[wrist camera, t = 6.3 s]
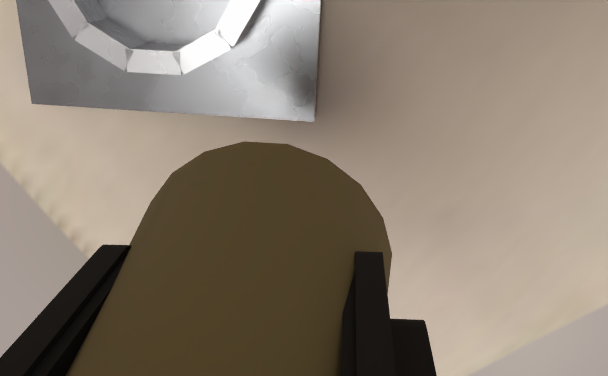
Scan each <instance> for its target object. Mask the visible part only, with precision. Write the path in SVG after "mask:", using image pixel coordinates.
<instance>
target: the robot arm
mask: <svg viewBox="0 0 608 376" xmlns="http://www.w3.org/2000/svg"><path fill="white" fill-rule="evenodd" d="M130 248H131V245H102V246H101V247H100V248H99V249H98V250H97V251H96V252H95V253H94V254H93V256H92V257H91V258H90V259H89V260H88V261H87V262H86V263H85V265H84V266H83V267H82V268H81V269H80V270H79V271H78V272H77V273H76V274H75V276H74V277H73V278H72V279H71V280H70V281H69V282H68V283H67V284H66V285H65V287H64V288H63V289H62V290H61V291H60V292H59V293H58V294H57V296H56V297H55V298H54V299H53V300H52V301H51V302H50V303H49V304H48V305H47V307H46V308H45V309H44V310H43V311H42V312H41V313H40V314H39V315H38V317H37V318H36V319H35V320H34V321H33V322H32V323H31V324H30V326H28V328H27V329H26V330H25V331H24V332H23V333H22V334H21V336H20V337H19V338H18V339H17V340H16V341H15V342H14V343H13V344H12V345H11V346H10V348H9V349H8V350H7V351H6V352H5V353H4V354H3V356H2V357H1V358H0V376H66V374H67V372H68V370H69V368H70V366H71V364H72V362H73V361H74V359H75V357H76V355H77V353H78V351H79V349H80V347H81V345H82V344H83V342H84V340H85V338H86V336H87V334H88V332H89V330H90V328H91V326H92V325H93V323H94V321H95V319H96V317H97V315H98V313H99V311H100V309H101V308H102V306H103V304H104V302H105V300H106V298H107V296H108V294H109V292H110V291H111V289H112V287H113V285H114V282H115V280H116V278H117V276H118V274H119V272H120V269H121V267H122V265H123V263H124V261H125V259H126V256H127V254H128V251H129V250H130ZM341 376H437V375H436V371H435V366H434V361H433V356H432V351H431V347H430V342H429V337H428V332H427V328H426V324H425V321H424V320H408V319H390V314H389V305H388V296H387V287H386V278H385V269H384V260H383V252H365V251H355V271H354V275H353V278H352V282H351V285H350V289H349V292H348V296H347V299H346V303H345V306H344V310H343V314H342V353H341Z"/></svg>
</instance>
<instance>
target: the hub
mask: <svg viewBox="0 0 608 376" xmlns="http://www.w3.org/2000/svg"><path fill="white" fill-rule="evenodd" d="M16 3H17V9H18V16H19V22H20V29H21V36H22V42H23V49H24V55H25V62H26V68H27V75H28V82H29V88H30V95H31V101H32V104H44V105H59V106H75V107H90V108H106V109H122V110H137V111H153V112H168V113H184V114H200V115H215V116H231V117H246V118H262V119H278V120H293V121H309V122H314V120H315V112H316V93H317V75H318V56H319V37H320V18H321V0H16Z"/></svg>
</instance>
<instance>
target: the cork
mask: <svg viewBox="0 0 608 376" xmlns="http://www.w3.org/2000/svg"><path fill="white" fill-rule="evenodd" d="M130 245H131V248H130V250H129V251H128V254H127V256H126V259H125V261H124V263H123V265H122V267H121V269H120V272H119V274H118V276H117V278H116V280H115V282H114V285H113V287H112V289H111V291H110V292H109V294H108V296H107V298H106V300H105V302H104V304H103V306H102V308H101V309H100V311H99V313H98V315H97V317H96V319H95V321H94V323H93V325H92V326H91V328H90V330H89V332H88V334H87V336H86V338H85V340H84V342H83V344H82V345H81V347H80V349H79V351H78V353H77V355H76V357H75V359H74V361H73V362H72V364H71V366H70V368H69V370H68V372H67V374H66V376H341V353H342V314H343V310H344V306H345V303H346V299H347V296H348V292H349V289H350V285H351V282H352V278H353V275H354V271H355V251H365V252H383V260H384V269H385V278H386V287H387V293H388V285H389V276H390V267H391V258H392V252H391V248H390V244H389V240H388V236H387V232H386V228H385V224H384V220H383V217H382V216H381V214H380V213H379V211H378V210H377V208H376V207H375V205H374V204H373V202H372V201H371V199H370V198H369V196H368V195H367V193H366V192H365V190H364V189H363V187H362V186H361V185H360V184H359V183H358V182H356V181H355V180H354V179H353V178H351V177H350V176H349V175H347V174H346V173H345V172H343V171H342V170H341V169H340V168H338V167H337V166H336V165H334V164H333V163H332V162H331V161H329V160H328V159H326V158H323V157H320V156H318V155H315V154H312V153H310V152H307V151H304V150H302V149H299V148H296V147H294V146H291V145H288V144H276V143H259V142H241V143H237V144H233V145H229V146H225V147H221V148H217V149H214V150H210V151H206V152H203V153H202V154H200V155H199V156H197V157H196V158H194V159H193V160H191V161H190V162H188V163H187V164H185V165H184V166H182V167H181V168H179V169H178V170H176V171H175V172H173V173H172V174H171V175H170V177H169V178H168V179H167V181H166V182H165V183H164V185H163V186H162V188H161V189H160V190H159V192H158V193H157V194H156V196H155V197H154V198H153V200H152V201H151V203H150V205H149V207H148V209H147V211H146V213H145V215H144V217H143V219H142V221H141V223H140V225H139V227H138V229H137V231H136V233H135V235H134V237H133V239H132V241H131V243H130Z"/></svg>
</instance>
